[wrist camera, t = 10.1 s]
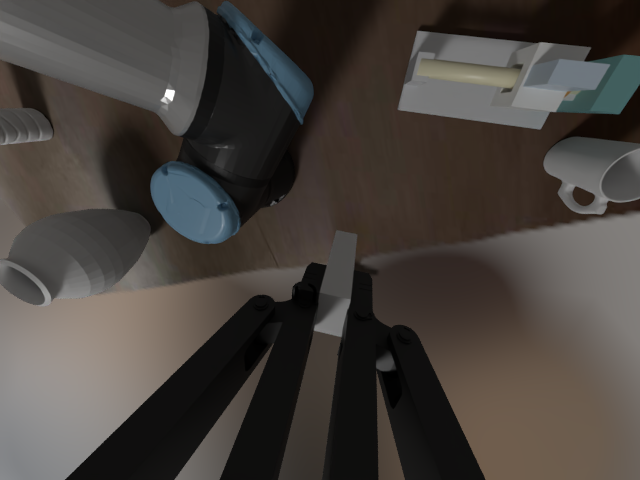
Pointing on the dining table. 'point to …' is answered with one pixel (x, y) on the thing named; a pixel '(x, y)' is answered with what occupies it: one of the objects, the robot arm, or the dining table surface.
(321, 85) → the dining table surface
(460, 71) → the grey vise fixture
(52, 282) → the vase
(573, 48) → the grey stepped block
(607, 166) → the mug
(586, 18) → the dining table surface
